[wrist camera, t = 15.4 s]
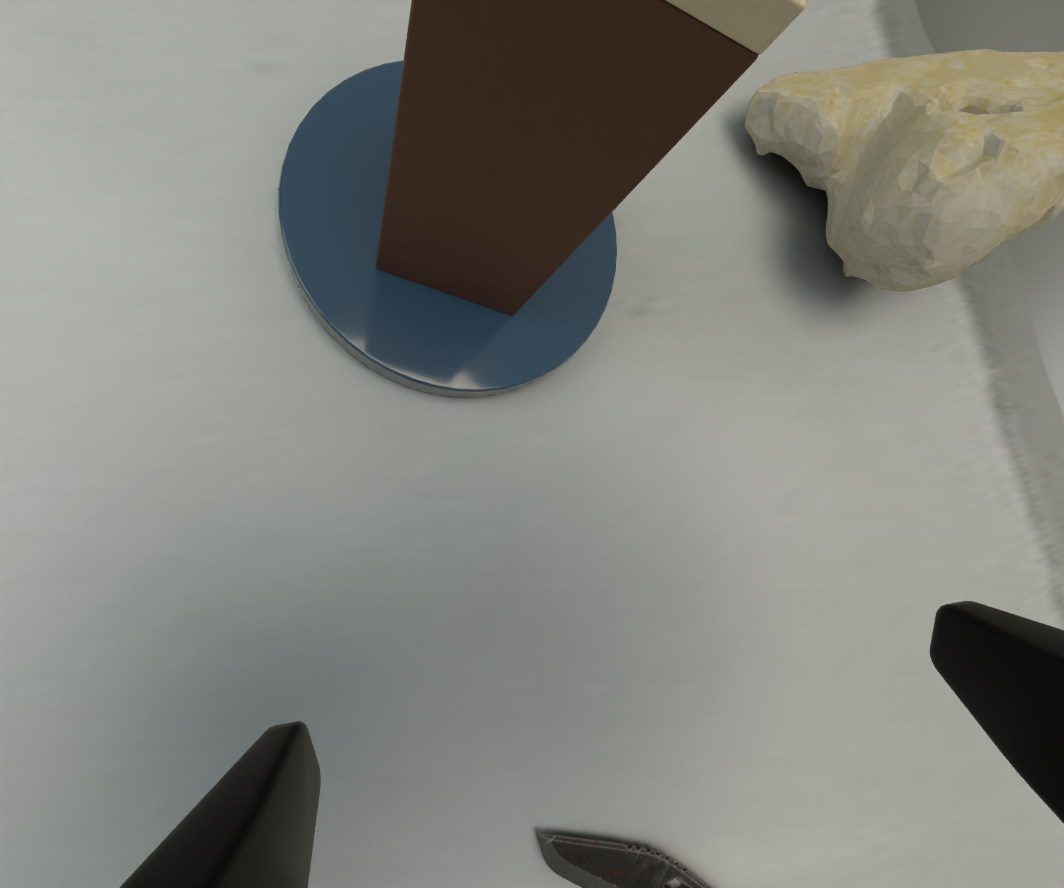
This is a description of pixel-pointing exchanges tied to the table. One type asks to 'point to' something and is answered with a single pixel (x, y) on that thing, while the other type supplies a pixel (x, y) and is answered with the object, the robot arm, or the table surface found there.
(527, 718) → the table surface
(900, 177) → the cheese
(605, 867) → the knife
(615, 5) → the tan and brown block
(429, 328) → the plate
